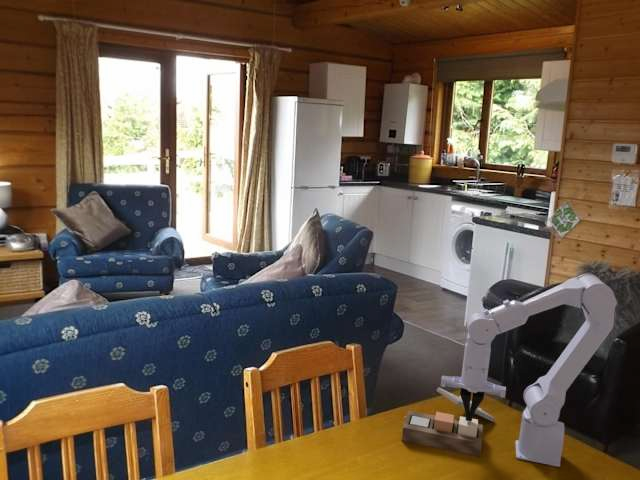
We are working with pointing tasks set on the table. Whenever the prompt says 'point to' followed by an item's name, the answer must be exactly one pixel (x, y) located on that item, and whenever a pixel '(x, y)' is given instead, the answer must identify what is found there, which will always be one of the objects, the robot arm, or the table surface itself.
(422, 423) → the slate key
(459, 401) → the light switch
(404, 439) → the brown slotted tray
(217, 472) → the table surface
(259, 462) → the table surface
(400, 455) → the table surface
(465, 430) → the ivory key
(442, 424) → the rust key
